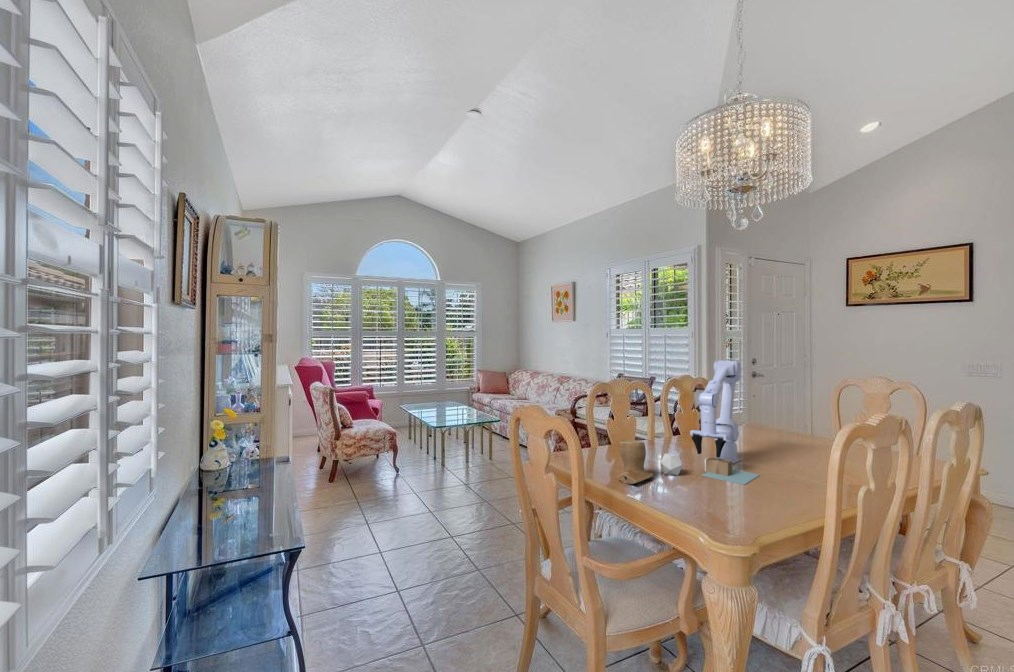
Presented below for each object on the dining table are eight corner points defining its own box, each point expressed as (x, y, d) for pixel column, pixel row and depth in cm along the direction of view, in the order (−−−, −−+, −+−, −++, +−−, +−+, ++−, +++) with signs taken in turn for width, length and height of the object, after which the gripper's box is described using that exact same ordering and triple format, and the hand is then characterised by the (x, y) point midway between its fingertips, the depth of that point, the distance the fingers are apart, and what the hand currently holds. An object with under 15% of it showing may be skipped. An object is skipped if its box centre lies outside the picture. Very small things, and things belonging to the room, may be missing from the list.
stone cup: (630, 472, 190) (630, 435, 190) (657, 478, 181) (657, 440, 181) (608, 480, 179) (608, 441, 179) (635, 487, 171) (635, 446, 171)
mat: (718, 467, 195) (718, 466, 195) (759, 475, 184) (759, 474, 184) (701, 475, 184) (701, 474, 184) (744, 484, 172) (744, 484, 172)
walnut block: (709, 456, 192) (732, 460, 186) (710, 468, 192) (732, 473, 186) (704, 459, 189) (727, 463, 182) (704, 471, 189) (727, 476, 182)
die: (684, 474, 189) (671, 452, 193) (689, 469, 181) (676, 446, 186) (666, 482, 188) (653, 460, 192) (671, 477, 180) (657, 454, 185)
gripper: (686, 420, 192) (686, 453, 192) (722, 425, 182) (723, 460, 182) (694, 418, 197) (694, 450, 197) (730, 423, 187) (730, 457, 187)
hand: (708, 455), depth 190 cm, fingers open, 7 cm apart
